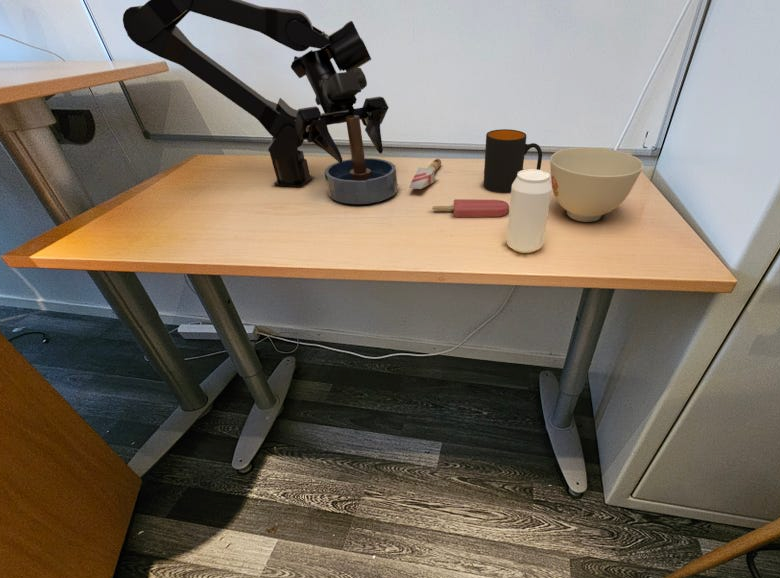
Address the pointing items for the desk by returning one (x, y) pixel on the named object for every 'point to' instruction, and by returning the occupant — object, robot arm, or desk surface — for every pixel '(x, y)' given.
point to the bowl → (592, 180)
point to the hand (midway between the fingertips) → (361, 156)
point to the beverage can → (528, 210)
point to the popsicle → (477, 208)
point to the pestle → (357, 149)
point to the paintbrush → (425, 175)
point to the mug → (505, 158)
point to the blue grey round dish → (361, 182)
